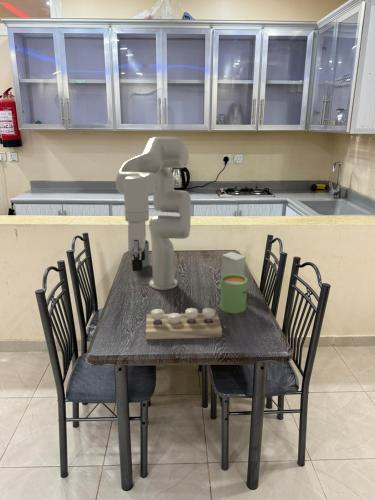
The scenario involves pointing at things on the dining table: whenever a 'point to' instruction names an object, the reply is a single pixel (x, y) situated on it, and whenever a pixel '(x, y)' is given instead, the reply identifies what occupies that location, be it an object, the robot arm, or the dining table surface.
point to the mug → (233, 293)
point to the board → (183, 328)
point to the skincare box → (232, 264)
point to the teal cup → (146, 261)
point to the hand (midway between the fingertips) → (138, 265)
